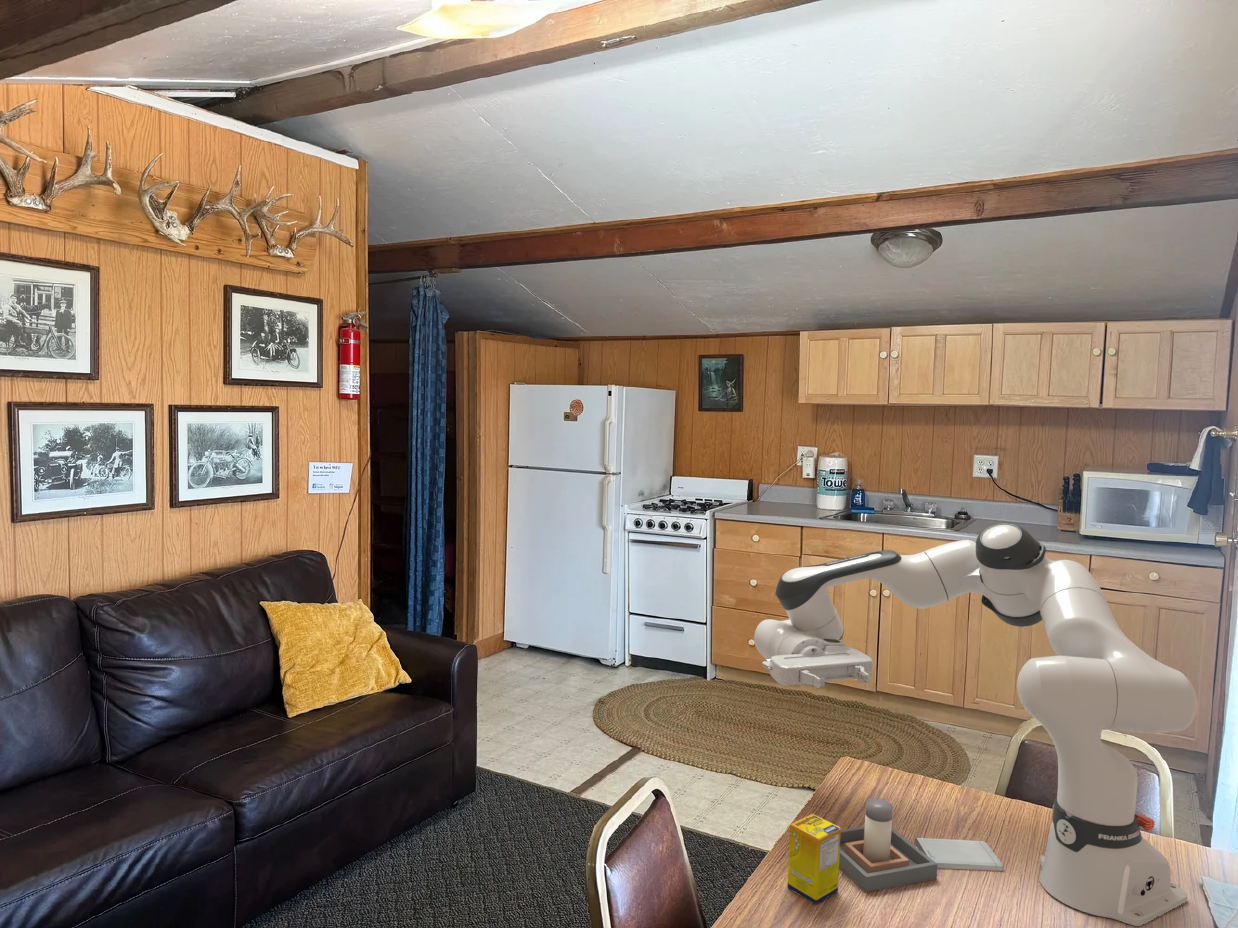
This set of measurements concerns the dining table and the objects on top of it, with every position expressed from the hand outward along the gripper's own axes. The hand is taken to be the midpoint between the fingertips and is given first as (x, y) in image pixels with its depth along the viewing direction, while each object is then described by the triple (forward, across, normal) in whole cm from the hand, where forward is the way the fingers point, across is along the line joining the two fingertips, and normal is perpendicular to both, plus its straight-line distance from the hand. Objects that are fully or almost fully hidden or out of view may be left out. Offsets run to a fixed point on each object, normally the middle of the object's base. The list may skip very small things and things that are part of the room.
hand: (844, 681), depth 153 cm
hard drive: (+14, +16, +29) cm, 36 cm away
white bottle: (+12, 0, +27) cm, 30 cm away
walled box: (+12, 0, +28) cm, 30 cm away
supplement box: (+16, -15, +28) cm, 36 cm away
